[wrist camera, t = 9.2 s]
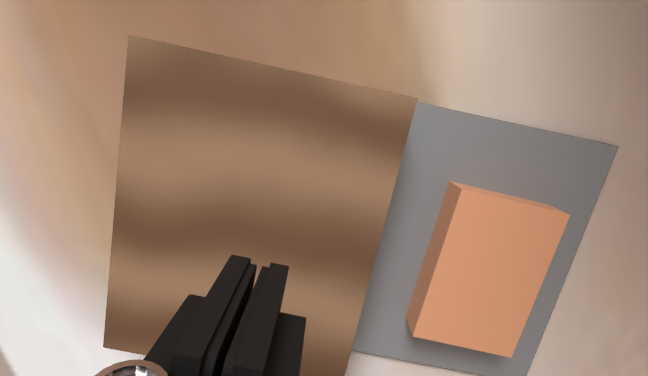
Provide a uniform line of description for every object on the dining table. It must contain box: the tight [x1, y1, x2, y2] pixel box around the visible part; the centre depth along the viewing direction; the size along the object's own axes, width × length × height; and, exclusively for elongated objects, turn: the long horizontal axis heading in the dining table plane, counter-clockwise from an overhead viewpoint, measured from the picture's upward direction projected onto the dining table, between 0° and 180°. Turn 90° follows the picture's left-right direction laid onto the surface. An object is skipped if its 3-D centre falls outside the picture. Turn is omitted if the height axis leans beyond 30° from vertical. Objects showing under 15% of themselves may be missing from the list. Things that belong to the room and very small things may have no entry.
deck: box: [103, 35, 418, 376], centre depth 20 cm, size 16×13×4 cm
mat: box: [351, 102, 619, 376], centre depth 22 cm, size 16×12×1 cm
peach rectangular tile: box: [406, 181, 570, 358], centre depth 21 cm, size 9×6×2 cm, turn 167°
